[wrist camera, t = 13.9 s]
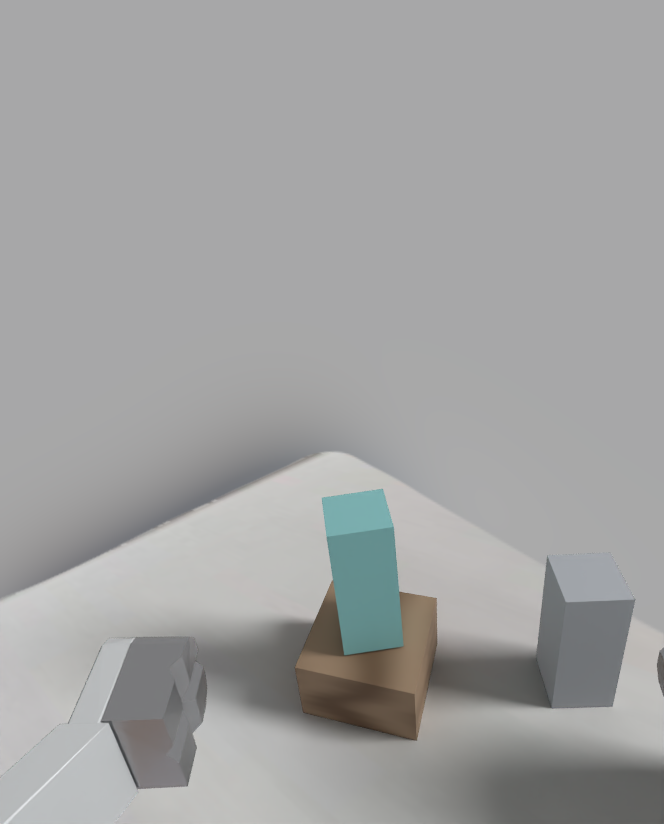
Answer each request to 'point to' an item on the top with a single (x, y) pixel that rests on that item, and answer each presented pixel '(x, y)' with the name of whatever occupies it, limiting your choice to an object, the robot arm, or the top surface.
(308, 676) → the base block
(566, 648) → the grey block
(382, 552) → the teal block
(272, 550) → the top surface
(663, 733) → the top surface
